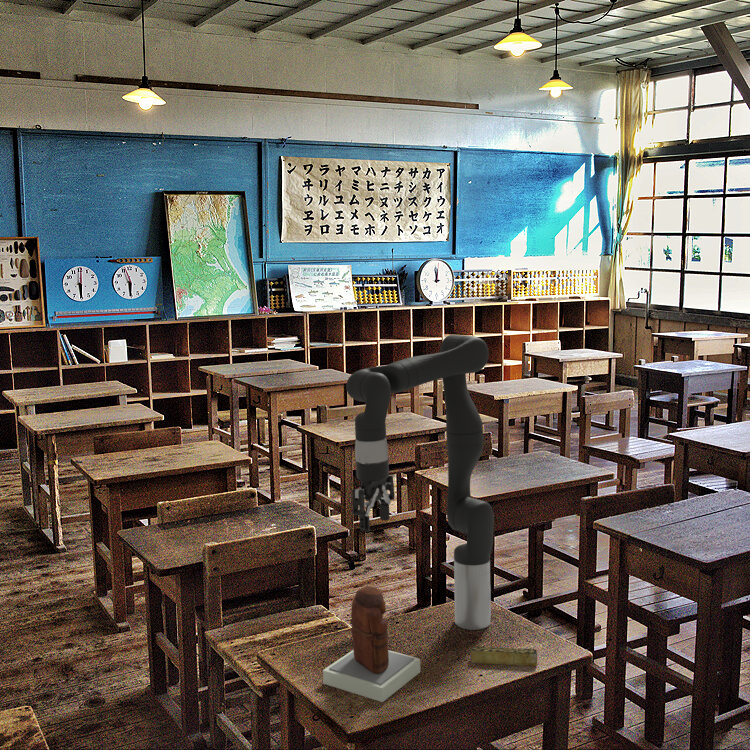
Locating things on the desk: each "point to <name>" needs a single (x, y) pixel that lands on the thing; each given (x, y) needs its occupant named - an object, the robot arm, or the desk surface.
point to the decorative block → (504, 656)
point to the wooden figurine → (370, 629)
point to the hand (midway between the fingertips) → (375, 525)
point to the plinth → (371, 675)
